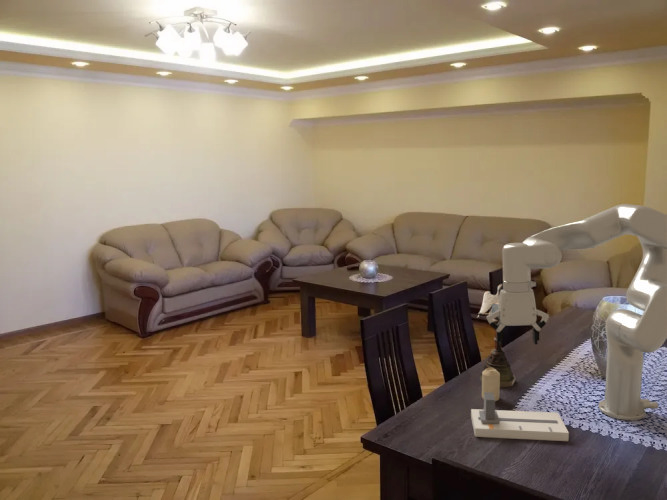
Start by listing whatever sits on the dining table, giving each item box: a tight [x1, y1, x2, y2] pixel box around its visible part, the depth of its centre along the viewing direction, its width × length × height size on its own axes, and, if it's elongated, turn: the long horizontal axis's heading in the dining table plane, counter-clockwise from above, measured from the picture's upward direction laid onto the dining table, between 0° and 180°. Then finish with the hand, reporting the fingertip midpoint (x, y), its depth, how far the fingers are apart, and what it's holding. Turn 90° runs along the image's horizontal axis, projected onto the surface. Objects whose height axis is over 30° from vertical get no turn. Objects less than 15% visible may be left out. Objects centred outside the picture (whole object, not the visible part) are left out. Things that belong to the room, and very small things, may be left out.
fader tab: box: [479, 392, 499, 423], centre depth 157 cm, size 5×6×7 cm
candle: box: [481, 367, 501, 402], centre depth 176 cm, size 6×6×10 cm
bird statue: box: [476, 283, 516, 388], centre depth 186 cm, size 17×13×35 cm
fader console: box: [470, 408, 570, 442], centre depth 157 cm, size 25×12×3 cm, turn 81°
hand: (517, 343), depth 158 cm, fingers open, 9 cm apart
